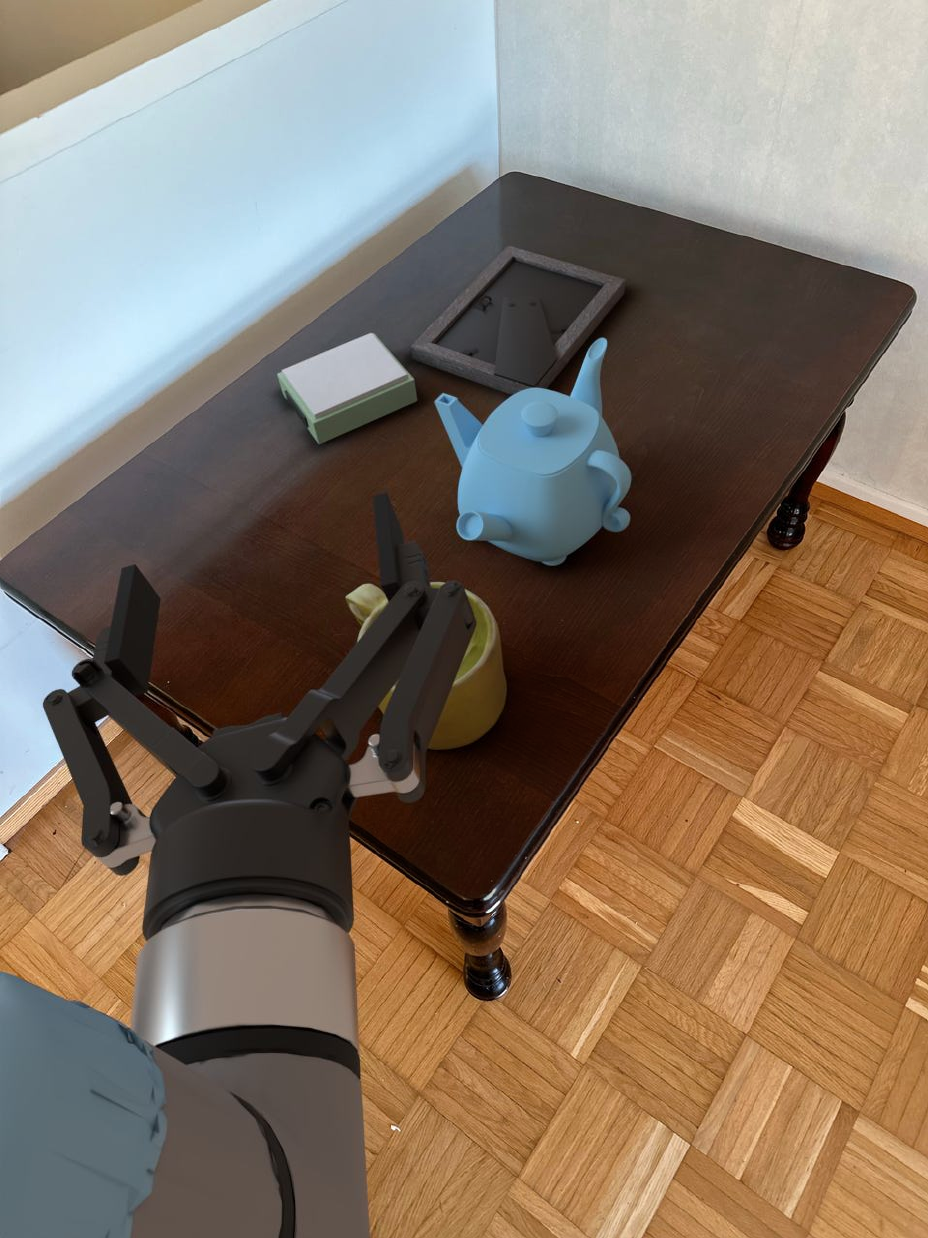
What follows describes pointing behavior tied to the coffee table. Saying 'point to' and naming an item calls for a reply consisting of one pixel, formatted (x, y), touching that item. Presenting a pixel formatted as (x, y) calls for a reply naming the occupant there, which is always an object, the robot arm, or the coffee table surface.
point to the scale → (347, 387)
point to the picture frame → (519, 321)
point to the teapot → (539, 468)
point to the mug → (476, 681)
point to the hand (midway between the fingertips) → (263, 548)
